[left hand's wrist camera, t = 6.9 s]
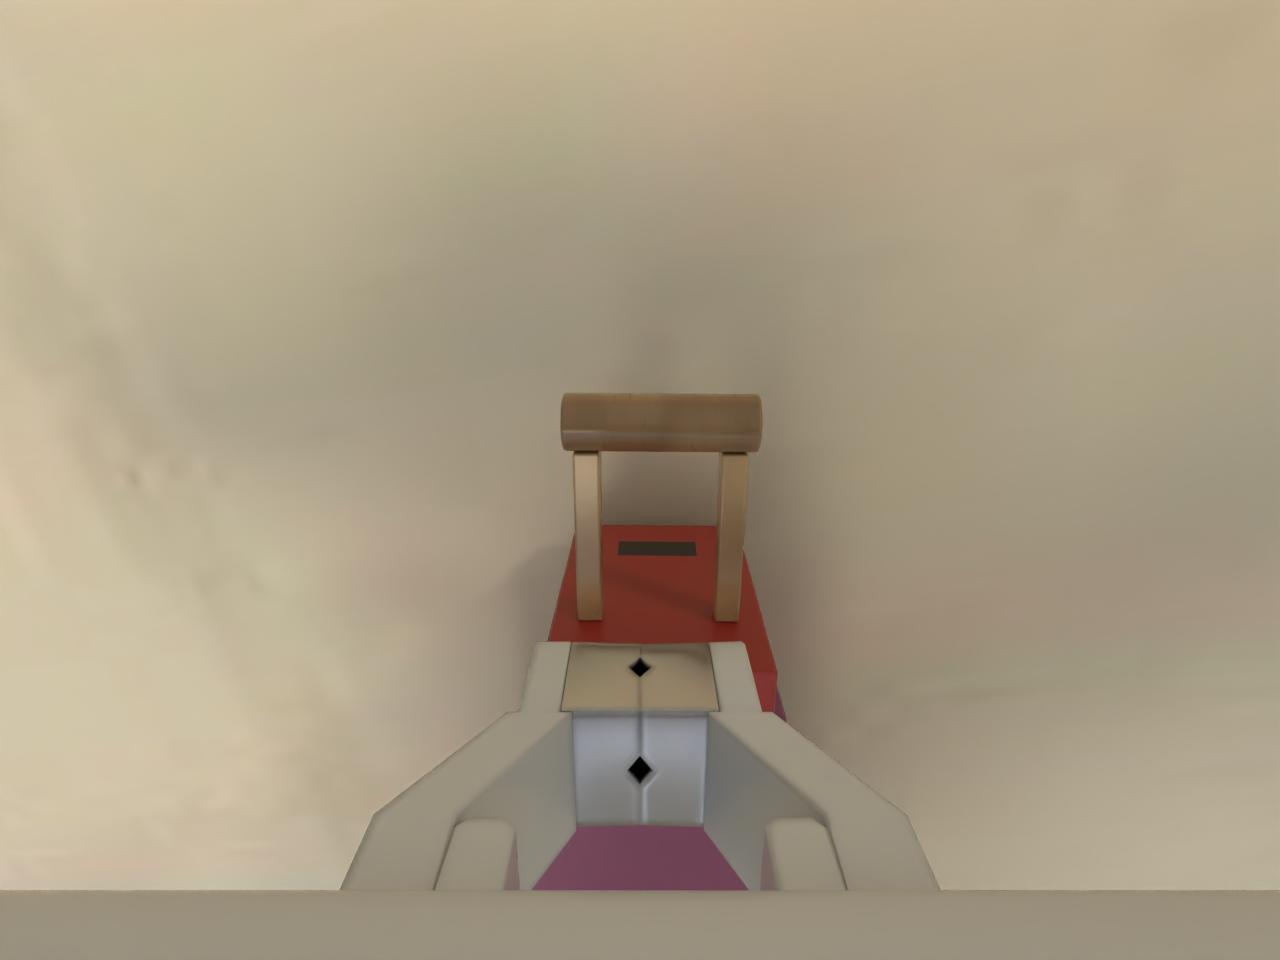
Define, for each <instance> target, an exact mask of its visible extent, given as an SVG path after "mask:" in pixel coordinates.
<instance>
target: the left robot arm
mask: <svg viewBox="0 0 1280 960" xmlns="http://www.w3.org/2000/svg"><path fill="white" fill-rule="evenodd" d="M626 825H652V826H687V827H704V831H705V832H706V834H707V835H708V836H709V838H710V839H711V840H712V842H713V843H714V844H715V846H716V847H717V848H718V850H719V851H720V852H721V854H722V855H723V856H724V858H725V859H726V860H727V862H728V863H729V864H730V866H731V867H732V868H733V870H734V871H735V872H736V874H737V875H738V876H739V878H740V879H741V880H742V882H743V883H744V884H745V886H746V887H747V888H748V890H532V889H533V887H534V886H535V885H536V883H537V882H538V881H539V879H540V878H541V877H542V875H543V874H544V873H545V871H546V870H547V869H548V867H549V866H550V865H551V864H552V862H553V861H554V860H555V858H556V857H557V856H558V854H559V853H560V852H561V850H562V849H563V848H564V846H565V845H566V844H567V842H568V841H569V840H570V838H571V837H572V836H573V834H574V833H575V832H576V827H592V826H626ZM0 960H1280V890H940V888H939V886H938V884H937V881H936V879H935V877H934V875H933V872H932V870H931V868H930V866H929V863H928V861H927V859H926V857H925V854H924V852H923V850H922V848H921V845H920V843H919V841H918V839H917V837H916V834H915V832H914V830H913V828H912V825H911V823H910V821H909V819H908V816H907V815H906V814H904V813H903V812H902V811H900V810H899V809H898V808H897V807H895V806H894V805H893V804H891V803H890V802H889V801H887V800H886V799H885V798H884V797H882V796H881V795H880V794H878V793H877V792H876V791H874V790H873V789H872V788H871V787H869V786H868V785H867V784H865V783H864V782H863V781H861V780H860V779H859V778H858V777H856V776H855V775H854V774H852V773H851V772H850V771H848V770H847V769H846V768H845V767H843V766H842V765H841V764H839V763H838V762H837V761H835V760H834V759H833V758H832V757H830V756H829V755H828V754H826V753H825V752H824V751H822V750H821V749H820V748H818V747H817V746H816V745H815V744H813V743H812V742H811V741H809V740H808V739H807V738H805V737H804V736H803V735H802V734H800V733H799V732H798V731H796V730H795V729H794V728H792V727H791V726H790V725H789V724H787V723H786V722H785V721H783V720H782V719H781V718H779V717H778V716H777V715H776V714H774V713H773V712H762V709H761V705H760V701H759V697H758V693H757V689H756V685H755V681H754V678H753V674H752V670H751V666H750V662H749V658H748V654H747V650H746V646H745V644H744V643H743V642H742V641H733V642H708V643H677V644H640V643H603V642H573V643H571V642H538V643H537V644H536V645H535V646H534V649H533V653H532V657H531V661H530V665H529V669H528V673H527V677H526V681H525V685H524V689H523V693H522V697H521V701H520V705H519V709H518V712H507V713H506V714H504V715H503V716H502V717H501V718H499V719H498V720H497V721H495V722H494V723H493V724H491V725H490V726H489V727H487V728H486V729H485V730H484V731H482V732H481V733H480V734H478V735H477V736H476V737H474V738H473V739H472V740H470V741H469V742H468V743H467V744H465V745H464V746H463V747H461V748H460V749H459V750H457V751H456V752H455V753H453V754H452V755H451V756H450V757H448V758H447V759H446V760H444V761H443V762H442V763H440V764H439V765H438V766H436V767H435V768H434V769H433V770H431V771H430V772H429V773H427V774H426V775H425V776H423V777H422V778H421V779H419V780H418V781H417V782H416V783H414V784H413V785H412V786H410V787H409V788H408V789H406V790H405V791H404V792H402V793H401V794H400V795H399V796H397V797H396V798H395V799H393V800H392V801H391V802H389V803H388V804H387V805H385V806H384V807H383V808H382V809H380V810H379V811H378V812H376V813H375V814H374V815H373V817H372V819H371V822H370V824H369V826H368V828H367V830H366V833H365V835H364V837H363V839H362V841H361V844H360V846H359V848H358V850H357V853H356V855H355V857H354V859H353V861H352V864H351V866H350V868H349V870H348V872H347V875H346V877H345V879H344V881H343V883H342V886H341V888H340V890H0Z"/></svg>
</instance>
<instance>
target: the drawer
mask: <svg viewBox="0 0 1280 960" xmlns="http://www.w3.org/2000/svg"><path fill="white" fill-rule="evenodd" d="M560 423H561V441H562V446H563V449H564V450H565V451H574V453H573V484H574V516H575V533H574V537H573V541H572V546H571V550H570V554H569V558H568V562H567V566H566V570H565V574H564V578H563V582H562V586H561V590H560V595H559V599H558V603H557V607H556V611H555V615H554V619H553V623H552V627H551V631H550V635H549V639H548V642H571V643H573V642H603V643H640V644H677V643H708V642H733V641H742V642H743V643H744V644H745V646H746V650H747V654H748V658H749V662H750V666H751V670H752V674H753V678H754V681H755V685H756V689H757V693H758V697H759V701H760V705H761V709H762V712H773V713H774V709H775V697H776V685H777V670H776V666H775V662H774V659H773V655H772V651H771V648H770V644H769V640H768V637H767V633H766V630H765V626H764V622H763V619H762V615H761V611H760V608H759V604H758V600H757V597H756V593H755V589H754V586H753V582H752V579H751V575H750V571H749V568H748V564H747V560H746V557H745V553H744V549H743V545H744V528H745V511H746V495H747V478H748V461H749V457H748V454H747V452H757V451H758V450H759V448H760V444H761V438H762V404H761V399H760V396H759V395H757V394H647V393H565V394H564V395H563V398H562V403H561V421H560ZM601 451H638V452H720V456H719V479H718V501H717V524H716V526H625V525H602V473H601Z"/></svg>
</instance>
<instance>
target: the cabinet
mask: <svg viewBox="0 0 1280 960" xmlns="http://www.w3.org/2000/svg"><path fill="white" fill-rule="evenodd" d="M562 582H563V580H562ZM561 586H562V584H561ZM560 590H561V589H560ZM559 595H560V592H559ZM558 599H559V596H558ZM557 603H558V601H557ZM556 607H557V605H556ZM555 611H556V609H555ZM554 615H555V613H554ZM553 619H554V617H553ZM552 623H553V621H552ZM551 627H552V625H551ZM550 631H551V629H550ZM549 635H550V633H549ZM548 639H549V637H548ZM547 642H548V641H547ZM774 714H776V715H777V716H778V717H779V718H781V719H782V720H783V721H785V722H786V723H787V721H786V717H785V713H784V709H783V706H782V702H781V698H780V694H779V691H778V687H777V685H776V697H775V709H774ZM532 890H748V888H747V887H746V886H745V884H744V883H743V882H742V880H741V879H740V878H739V876H738V875H737V874H736V872H735V871H734V870H733V868H732V867H731V866H730V864H729V863H728V862H727V860H726V859H725V858H724V856H723V855H722V854H721V852H720V851H719V850H718V848H717V847H716V846H715V844H714V843H713V842H712V840H711V839H710V838H709V836H708V835H707V834H706V832H705V831H704V827H687V826H652V825H626V826H592V827H576V832H575V833H574V834H573V836H572V837H571V838H570V840H569V841H568V842H567V844H566V845H565V846H564V848H563V849H562V850H561V852H560V853H559V854H558V856H557V857H556V858H555V860H554V861H553V862H552V864H551V865H550V866H549V867H548V869H547V870H546V871H545V873H544V874H543V875H542V877H541V878H540V879H539V881H538V882H537V883H536V885H535V886H534V887H533V889H532Z"/></svg>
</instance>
